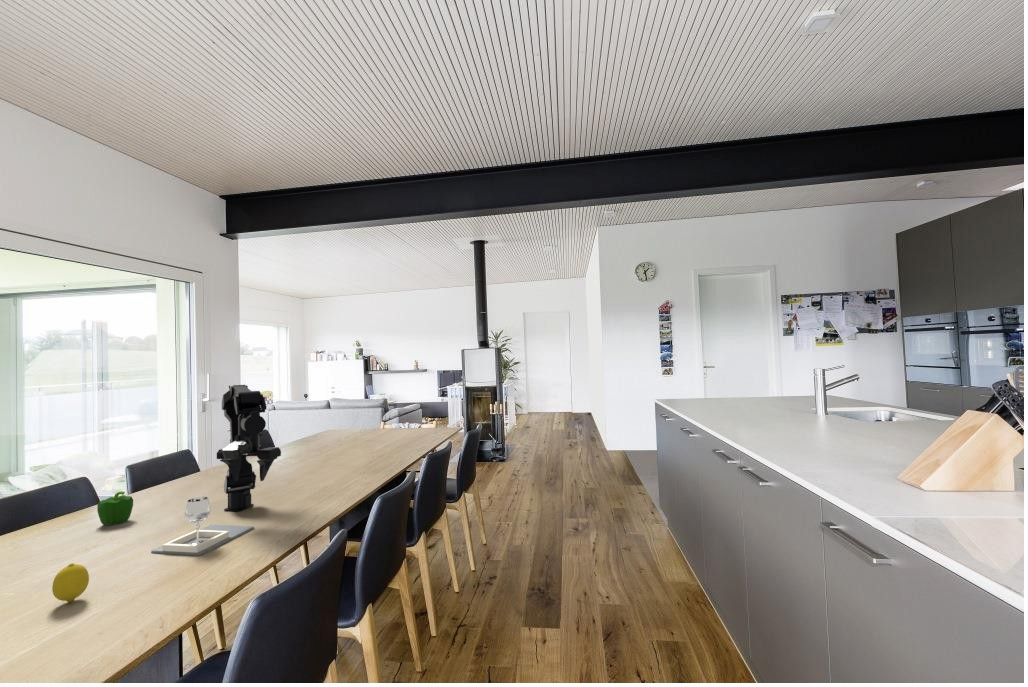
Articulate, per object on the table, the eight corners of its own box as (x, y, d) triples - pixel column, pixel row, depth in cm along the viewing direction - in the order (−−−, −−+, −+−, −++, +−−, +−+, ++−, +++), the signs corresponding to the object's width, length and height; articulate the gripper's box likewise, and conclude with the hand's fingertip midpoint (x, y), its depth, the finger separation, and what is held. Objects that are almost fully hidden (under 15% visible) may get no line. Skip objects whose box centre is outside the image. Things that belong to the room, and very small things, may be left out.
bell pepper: (91, 526, 141) (92, 494, 141) (122, 517, 148) (122, 486, 149) (107, 529, 138) (107, 496, 138) (138, 520, 145) (138, 489, 146)
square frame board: (151, 552, 119) (151, 544, 119) (210, 526, 138) (210, 519, 138) (200, 555, 117) (200, 547, 117) (254, 528, 135) (254, 521, 135)
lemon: (68, 596, 97) (68, 558, 98) (95, 594, 98) (96, 557, 98) (44, 610, 92) (44, 570, 92) (73, 608, 92) (73, 568, 93)
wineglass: (210, 544, 123) (210, 499, 123) (184, 549, 119) (184, 504, 120) (210, 537, 127) (210, 494, 128) (185, 542, 124) (185, 498, 124)
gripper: (201, 435, 135) (201, 487, 135) (256, 435, 132) (256, 488, 132) (230, 429, 146) (230, 477, 146) (281, 429, 143) (282, 478, 143)
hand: (249, 480), depth 141 cm, fingers open, 9 cm apart
